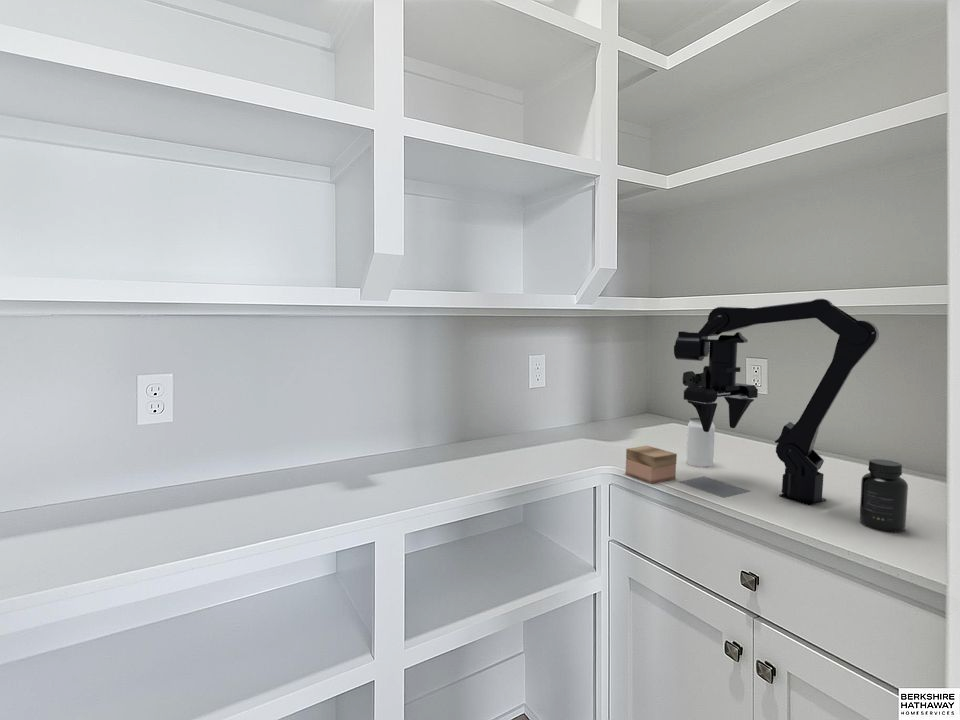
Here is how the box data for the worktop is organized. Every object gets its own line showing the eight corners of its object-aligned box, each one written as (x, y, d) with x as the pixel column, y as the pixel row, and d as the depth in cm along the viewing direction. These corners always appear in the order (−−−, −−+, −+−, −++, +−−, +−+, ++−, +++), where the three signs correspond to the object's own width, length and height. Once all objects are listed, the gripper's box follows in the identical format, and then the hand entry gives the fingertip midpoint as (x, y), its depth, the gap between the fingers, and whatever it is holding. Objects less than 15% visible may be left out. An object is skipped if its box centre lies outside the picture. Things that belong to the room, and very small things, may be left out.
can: (684, 466, 136) (686, 420, 135) (687, 460, 141) (689, 416, 140) (712, 470, 133) (714, 423, 132) (714, 463, 138) (716, 418, 137)
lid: (676, 464, 123) (676, 453, 123) (654, 468, 120) (655, 457, 119) (646, 455, 131) (647, 445, 131) (626, 458, 127) (626, 448, 127)
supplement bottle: (863, 515, 102) (867, 455, 101) (908, 526, 97) (913, 462, 96) (854, 525, 98) (859, 461, 97) (901, 536, 93) (906, 469, 92)
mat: (750, 492, 115) (750, 490, 115) (723, 499, 111) (723, 497, 111) (703, 478, 126) (703, 476, 126) (677, 483, 122) (677, 481, 122)
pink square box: (675, 480, 124) (675, 463, 124) (650, 485, 120) (651, 467, 120) (649, 471, 131) (649, 455, 131) (625, 475, 127) (626, 459, 127)
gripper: (718, 358, 131) (715, 420, 133) (665, 360, 122) (663, 427, 124) (760, 361, 122) (757, 428, 123) (706, 364, 113) (703, 436, 114)
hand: (719, 429), depth 121 cm, fingers open, 9 cm apart
